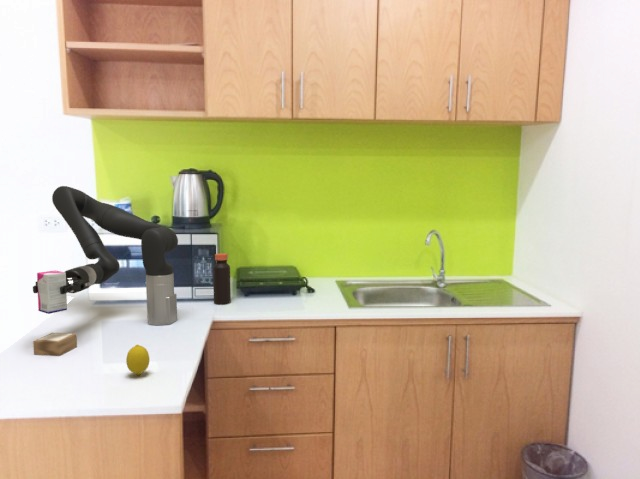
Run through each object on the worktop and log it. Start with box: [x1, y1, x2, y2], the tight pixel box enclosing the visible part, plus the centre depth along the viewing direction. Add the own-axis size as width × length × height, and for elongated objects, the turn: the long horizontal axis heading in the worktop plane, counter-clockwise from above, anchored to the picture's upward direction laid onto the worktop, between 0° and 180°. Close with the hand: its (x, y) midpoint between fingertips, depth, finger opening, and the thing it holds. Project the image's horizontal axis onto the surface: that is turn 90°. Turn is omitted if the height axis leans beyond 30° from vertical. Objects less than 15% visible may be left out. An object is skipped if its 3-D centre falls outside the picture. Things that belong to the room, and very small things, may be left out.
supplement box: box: [36, 270, 68, 315], centre depth 148 cm, size 6×6×12 cm
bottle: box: [212, 252, 232, 305], centre depth 205 cm, size 7×7×20 cm
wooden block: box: [32, 332, 78, 357], centre depth 148 cm, size 8×8×4 cm
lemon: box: [125, 344, 150, 376], centre depth 129 cm, size 6×6×8 cm
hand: (47, 290), depth 146 cm, fingers closed on supplement box, 7 cm apart
